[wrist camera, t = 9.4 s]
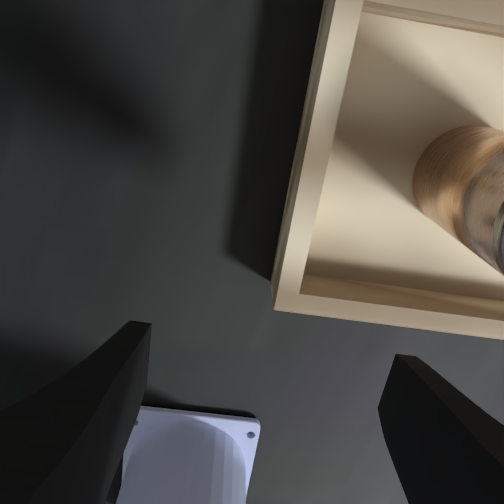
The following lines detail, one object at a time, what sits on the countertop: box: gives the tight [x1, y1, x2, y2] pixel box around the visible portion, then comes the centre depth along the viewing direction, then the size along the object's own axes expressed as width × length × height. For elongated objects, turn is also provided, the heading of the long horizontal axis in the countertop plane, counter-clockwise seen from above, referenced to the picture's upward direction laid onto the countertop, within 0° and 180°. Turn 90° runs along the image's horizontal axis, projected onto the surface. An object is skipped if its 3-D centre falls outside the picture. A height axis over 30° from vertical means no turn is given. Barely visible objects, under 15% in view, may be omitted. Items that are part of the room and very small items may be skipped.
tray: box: [270, 0, 504, 340], centre depth 20 cm, size 14×16×3 cm
